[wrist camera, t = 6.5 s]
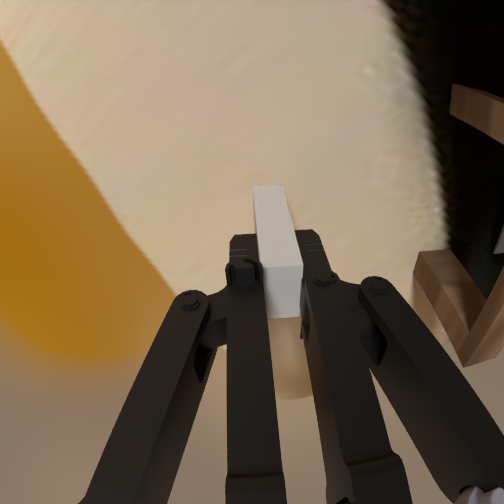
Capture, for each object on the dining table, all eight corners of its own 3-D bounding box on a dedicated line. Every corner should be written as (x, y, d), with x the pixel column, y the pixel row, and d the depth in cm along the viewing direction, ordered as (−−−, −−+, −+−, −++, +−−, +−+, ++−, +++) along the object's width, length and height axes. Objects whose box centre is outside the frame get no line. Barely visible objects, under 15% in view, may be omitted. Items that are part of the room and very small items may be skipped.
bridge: (413, 272, 23) (463, 367, 16) (452, 83, 14) (567, 137, 7) (442, 269, 23) (495, 357, 16) (486, 91, 14) (593, 147, 7)
